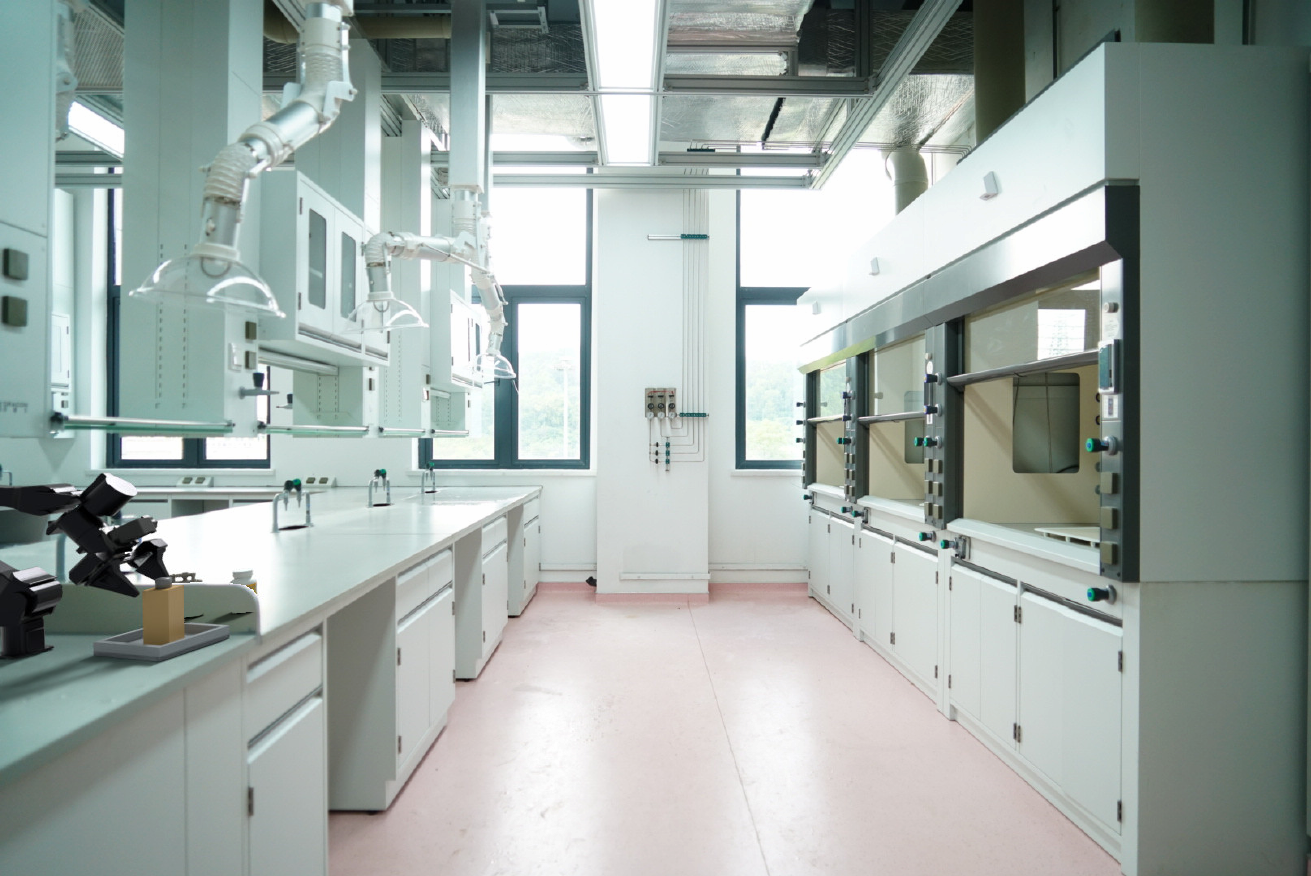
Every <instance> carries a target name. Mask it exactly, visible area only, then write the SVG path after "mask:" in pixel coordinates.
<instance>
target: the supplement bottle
mask: <svg viewBox="0 0 1311 876" xmlns="http://www.w3.org/2000/svg"><path fill="white" fill-rule="evenodd" d="M253 575H254V569H253V568H241V569H236V570H233V571H232V577H233V579H232V580H231V581H230V582H229V584H230V583H233V584H241V585H246V586H247V587H249V588H250V589H253V590H254V592H255V593H256V594H257V595H258V581H257V578H256V577H254V576H253Z"/></svg>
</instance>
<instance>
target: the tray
mask: <svg viewBox="0 0 1311 876" xmlns="http://www.w3.org/2000/svg"><path fill="white" fill-rule="evenodd" d="M184 630H185V638H183V639H180V640H177V641H174V642H171V643H167V644H164V645H161V646H159V645H148V644H143V627H141V628H137V629H134V630H131V631H127V632H124V633H120V634H116V635H114V636H110V637H106V638H103V639H99V640H95V641H93V646H92V647H93V656H95V657H97V656H98V657H107V658H118V659H129V660H140V661H151V662H163V661H165V660H168V659H172V658H175V657H178V656H180V655H184V654H187V653H189V652H192V651H195V650H198V649H200V648H204V647H208V646H209V645H212V644H216V643H219V642H222V641H224V640H227V639H230V638H231V637H230V636H231V635H230V625H229V624H215V623H205V622H204V623H203V622H201V623H200V622H190V623H184Z"/></svg>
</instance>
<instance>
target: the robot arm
mask: <svg viewBox="0 0 1311 876" xmlns="http://www.w3.org/2000/svg"><path fill="white" fill-rule="evenodd" d="M137 494H138V489H136V487H135V486H134V485H133V483H131V482H129V481H126V480H125V479H123V478H120V477H117V476H115V475H114V474H112V473H110V472H101V473H99V474H98V476H97V477H96V478H95V479H94V481H92V482H91V483H90V484H89V485H88V486H87V487H86V488H84V489H77V488H75V485H73V484H70V483H65V482H63V483H51V484H36V485H24V486H22V485H21V486H20V485H8V484H0V507H4V508H9V509H13V510H15V511H17V512H19V513H23V514H28V515H32V516H37V517H43V516H51V515H57V514H61V515H60V516H58V518H56V519H54V520H48V521H47V527H46V529H45V535H46V536H55V535H60V534H61V535H62V534H64V535H66V536H67V537H68V538H69V540H71V541H72V542H73V543H75V545H77V546H78V548H76V550H75V553H77V554H79V555H82V554H85V555H84V556H83V557H82V558H81V559H80V560H79V561H78V562H77V563H76V564H75V565H74V566H73V567H71V569H70V570H69V571H68V579H69V581H71V582H72V583H73V584H74V585H75V586H76V587H77V586H81V585H83V586H84V587H87V588H88V587H91V588H95V589H100V590H104V591H109V592H112V593H117V594H120V595H124V596H127V597H131V598H137V597H139V596H140V594H141V592H140V591H139V590H138V588H137V587H136V586H135V585H134V584H133V582H131V580H130V579H129V578H128V577H127V576H126V575H125V574H124V573H123V571H122V570H121V565H123V564H124V565H125V564H127V565H128V566H129V567H130V568H133V569H135V570H134V572H135V573H138V574H139V575H142V576H144V577H146V578H148V579H151V580H152V581H154V582H155V579H157V578H163V577H170V575H171V574H170V573H169V571H168V570H167V567H166V565H165V563H164V558H163V557H164V553H165V552H166V551H167V548H168V543H167V542H166V541H165V540H163V538H152V539H147V540H143V541H142V542H141V541H140V540H139V539H142V538H144V537H147V536H148V535H150V534H151V535H152V534H155V533H156V532H157V528H158V524H159V522H158V520H156V519H155V518H153V516H151V515H149V514H145V515H141V516H140V517H138V518H135V519H133V520H130V521H127V522H126V523H124V524H122V525H112V526H111V524H109V523H108V522H107V521H106V520H105V519H103V518H104V517H113V516H115V515H116V514H117V513H119V512H120V510H122V509H123V508H125V506H126V505H127V504H128V503H129V502H130V501H131V500H132V499H134V497H136V495H137ZM140 542H141V543H140ZM139 543H140V544H139ZM137 545H138V546H137ZM136 546H137V547H136ZM134 547H136V548H135V549H134ZM57 579H58V576H57V575H52V574H50V573H48V572H46V571H45V570H44V569H43V568H42V567H38V566H34V567H29V568H26V569H21V570H20V569H17V568H15V567H13V566H12V565H9V564H7V562H4V561H3V560H1V559H0V659H6V658H8V659H9V660H17V659H20V658H24V657H28V656H30V655H35V654H38V653H43V652H45V651H49V650H53V649H55V645H53V644H52V645H50V644H46V628H45V618H44V617H46V616H49V615H53V614H54V613H55V610H56V608H57V605H58V604H59V603H60V601H61V600H62V599H63V593H64V591H63V585H62V584H61V582H59V581H58V580H57ZM172 583H173V582H172ZM8 659H7V660H8Z"/></svg>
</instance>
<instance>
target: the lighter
mask: <svg viewBox="0 0 1311 876" xmlns="http://www.w3.org/2000/svg"><path fill="white" fill-rule="evenodd" d="M196 573H197V572H189V571H184V572H181V573H176V574H175V573H172V574H169V575H170V577H172V582H173V583H190V582H203V579H197V578H196V575H197V574H196ZM190 577H191V578H190ZM176 578H181V579H182V580H176ZM188 578H190V579H188Z"/></svg>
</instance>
